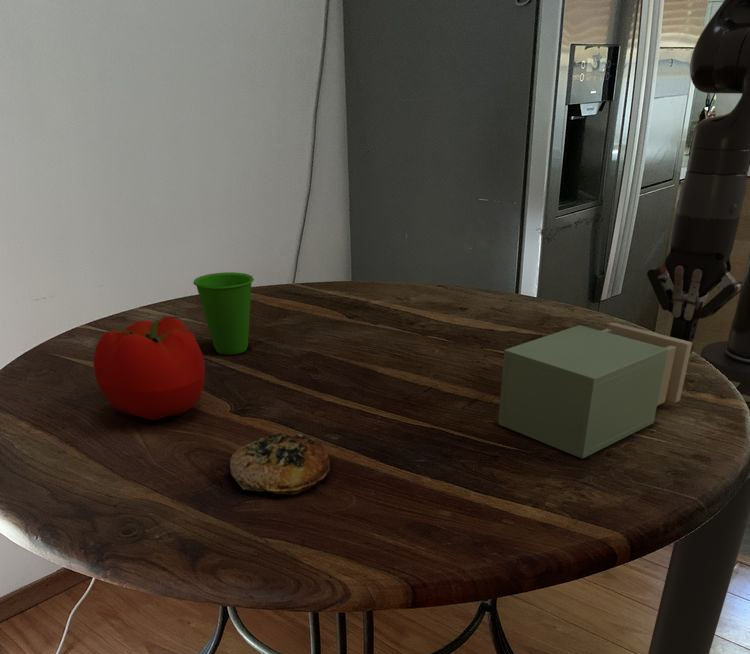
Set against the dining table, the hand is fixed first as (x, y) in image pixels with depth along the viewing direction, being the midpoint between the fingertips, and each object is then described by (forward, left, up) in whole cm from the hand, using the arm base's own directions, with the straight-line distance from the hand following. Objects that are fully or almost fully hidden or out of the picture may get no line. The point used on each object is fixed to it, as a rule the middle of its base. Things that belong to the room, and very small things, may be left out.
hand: (680, 344), depth 101 cm
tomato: (+40, -59, -5) cm, 71 cm away
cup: (+16, -65, -5) cm, 67 cm away
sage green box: (+21, -9, -5) cm, 23 cm away
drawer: (+11, -5, -4) cm, 13 cm away
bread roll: (+48, -35, -5) cm, 59 cm away
